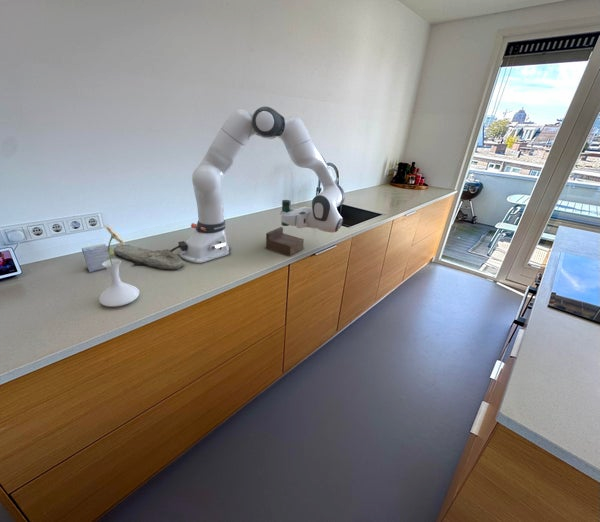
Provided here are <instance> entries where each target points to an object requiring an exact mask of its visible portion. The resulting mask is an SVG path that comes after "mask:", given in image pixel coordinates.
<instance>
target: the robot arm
mask: <svg viewBox="0 0 600 522" xmlns="http://www.w3.org/2000/svg"><path fill="white" fill-rule="evenodd" d="M253 136H258V137H260V138H262V139H265V140H273V139H275V138H279V139H280V140H281V141H282V144H283V145H284V147H285V150H286V151H287V154H288V156H289V158H290V160H291V162H292V163H293V165H295V166H297V167H299V168H302V169H308V170H311V171H313V172H314V173H315V175H316V177H317V179H318V180H319V182H320V184H321V186H322V188H323V190H322V191H321V192H319V193H318V194H316V195H315V196H314V197H313V198H312V201H311V207H309V206H300V207H298V208H290V212H287V213H286V212H285V211H282V210H281V211H280V217H281V218H280V221H281V223H282V222H283V223H285V224H288V225H289V226H293V227H296V228H297V229H305V228H309V229H317V230H319V231H321V232H325V233H331V234H332V233H334V234H335V233H337V232H338V231H339V230H340V229H341V227H342V225H343V222H344V218H343V217H342V215H341V214H340V213H339V211H338V207H340V206H341V205H342V204H344V202H345V200H346V193H345V191H344V189H343V187H342V186H341V185H340V184H339V183H338V182H337V180H336V179H335V176H334V174H333V172H332V171H331V169H330V167H329V165H328V163H327V161H326V159H325V158H324V157H323V155H322V154H321V153H320V152H319V150H318V149H317V147H316V145H315V143H314V141H313V139H312V136H311V134H310V132H309V131H308V128H307V127H306V125H305V123H304V121H303V120H302V119H301V117H299V116H297V115H291V116H287V117H284V116H283V115H282V114H280V113H279V112H278V111H277V110H276V109H274V108H272V107H270V106H261V107H259V108H256V109H255V111H254V112H253V114H252V113H250V112H249V111H247V110H245V109H243V108H237V109H235V110H234V111H232V113H231V114H230V115H229V116H228V118H227V119H225V121H224V122H223V124H222V126H221V127H220V129H219V131H218V133H217V134H216V136H215V137H214V139H213V140H212V142H211V144H210V146H209V148H208V149H207V151H206V153H205V154H204V157H202V160H201V162H200V164H199V165H198V166H197V167H196V168H195V169H194V170H193V172H192V175H191V182H192V186H193V187H192V188H193V193H194V197H195V202H196V209H197V223H194V222H192V223H191V224H190V227H191V228H192V229H195V231H194V232H193V233H192V234H191V235H190V237H188V239H187V240H186V241H184V240H182V241H178V242H177V244H178V245H177V246H175V247H173V248H172V249H169V250H170V252H172V253H173V251H176V250H178V249H180V252H179V257H180V258H182V260H184V261H187V262H190V263H195V264H203V263H206V262H209V261H212V260H215V259H218V258H219V259H220V258H222V257H225V256H228V255H230V246H229V244H228V240H227V235H226V234H227V233H226V220H225V215H224V213H225V212H224V201H223V200H224V199H223V193H222V192H223V191H222V182H223V179H224V178H225V177H226V175H227V174H228V172H229V171H230V169H231V168H232V166H233V165H234V164H235V162H236V161H237V159H238V157H239V156H240V155H241V153H242V151H243V150H244V148H245V147H246V145H247V143H248V142H249V141H250V139H251V138H252V137H253ZM133 266H148V265H147V264H144V263H137V262H134V263H133Z"/></svg>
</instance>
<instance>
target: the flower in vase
mask: <svg viewBox="0 0 600 522" xmlns="http://www.w3.org/2000/svg"><path fill="white" fill-rule="evenodd" d="M104 227H105V229H106V230H107V231H108V233H109V234H110V238H109V242H108V244H107V247H108V253H109V257H108V258H110V260H107V261H105V262H103V263H102V265H103V266H104V267H106V268H105V269H106V270H107V271H108V273H109V275H110V279H111V283H110V285H108V287H107V288H106V289H104V290H103V291H102V292H101V294H100V295H99V297H98V301H99V303H100V304H101V305H103V306H104V307H109V308H110V307H111V308H116V307H121V306H125V305H127V304H130V303H133V302H134V301H135V300H137V298H138V297H139V295H140V290H139V289H138V287H136V286H134V285H132V284H129V283H126V282H123V281H122V279H121V277H120V271H119V268H120V265H121V263H122V260H121V259H116V258H114V259H113V257H114V256H115V254H114V249H112V247H111V243H112V240H113V239H115V240H116V242H118V244H120V245H126V243H125V241H124V239H123V238H121V237H120V234H118V233H117V232H115V230H114V228H112V227H110V225H109V224H105V225H104ZM108 258H107V259H108Z"/></svg>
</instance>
